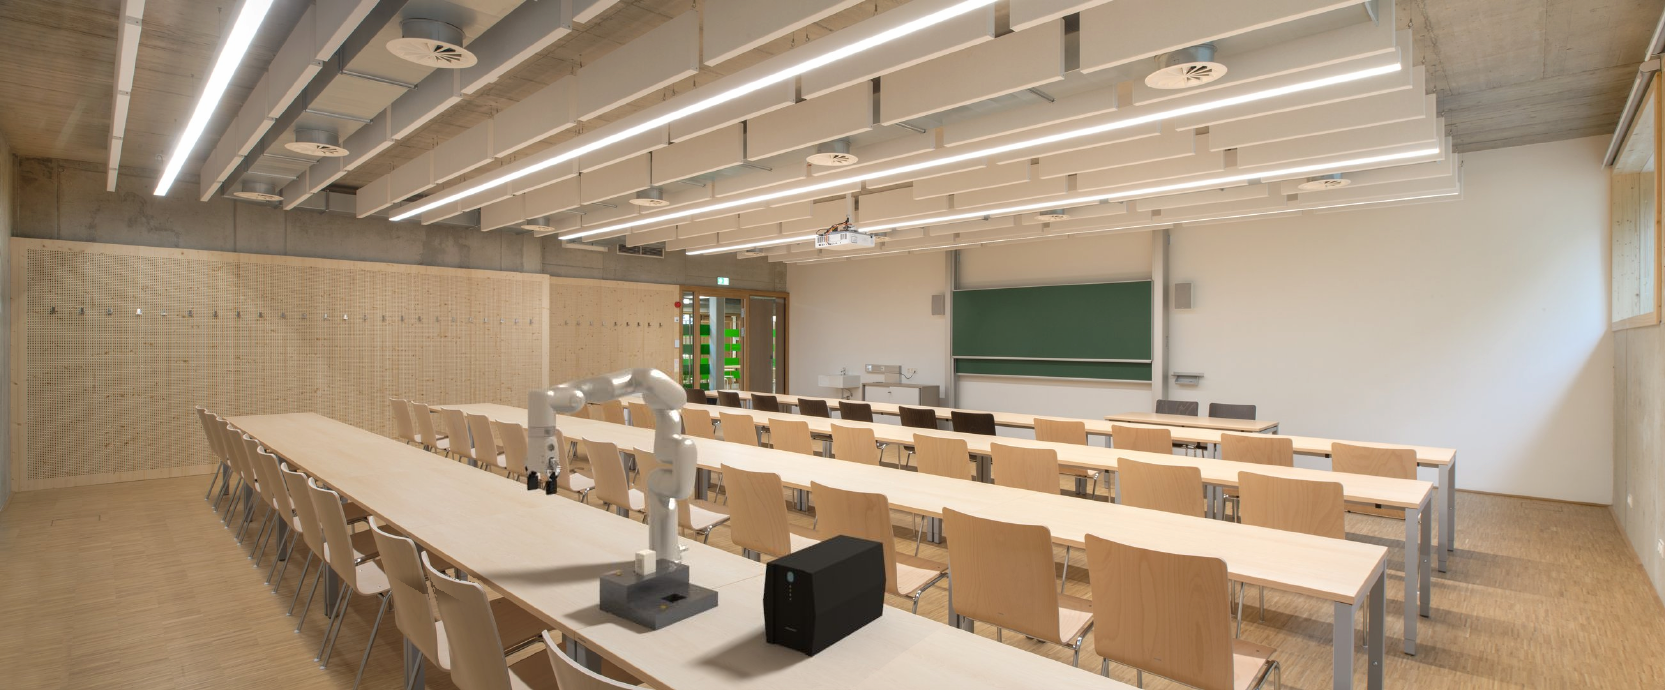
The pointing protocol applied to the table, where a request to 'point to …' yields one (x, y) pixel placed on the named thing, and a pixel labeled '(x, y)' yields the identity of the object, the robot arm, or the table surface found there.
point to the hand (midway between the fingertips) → (541, 491)
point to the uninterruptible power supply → (823, 593)
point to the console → (655, 595)
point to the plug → (645, 562)
